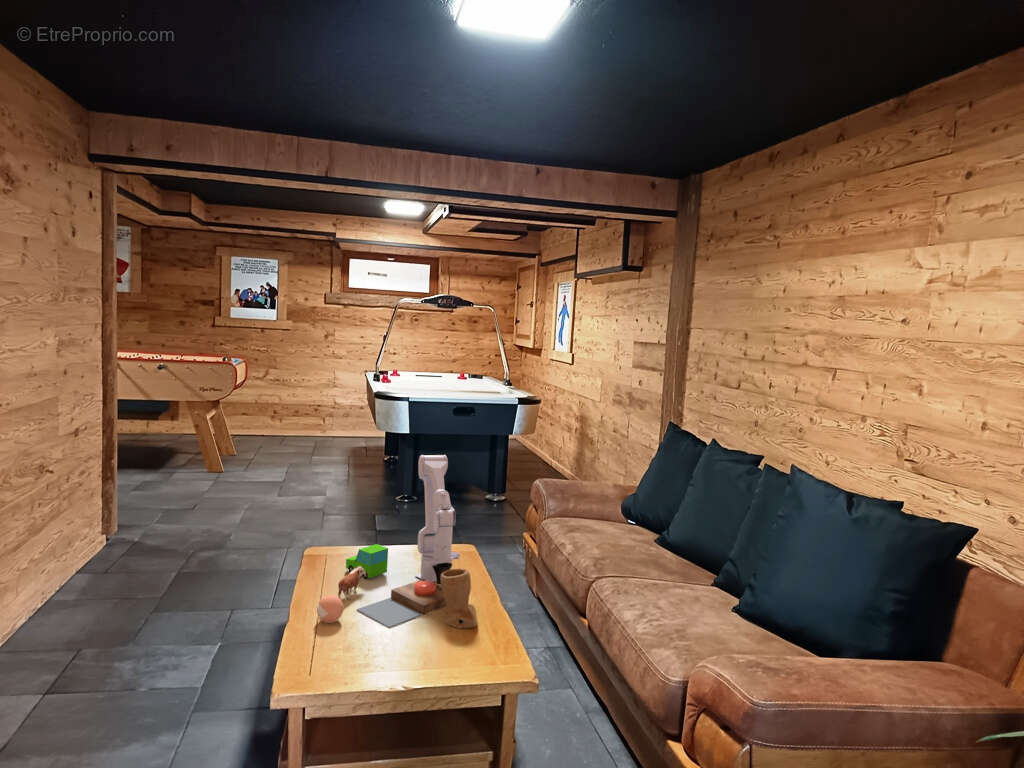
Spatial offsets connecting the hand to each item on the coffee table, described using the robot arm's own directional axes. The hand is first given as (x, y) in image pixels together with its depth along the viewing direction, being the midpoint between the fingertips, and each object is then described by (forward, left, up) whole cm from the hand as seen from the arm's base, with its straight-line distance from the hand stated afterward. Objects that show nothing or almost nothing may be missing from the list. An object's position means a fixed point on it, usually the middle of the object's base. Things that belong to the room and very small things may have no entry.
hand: (440, 583), depth 218 cm
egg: (+39, -7, -4) cm, 39 cm away
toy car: (+8, -31, -4) cm, 32 cm away
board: (+8, 0, -4) cm, 8 cm away
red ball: (+7, 0, -1) cm, 7 cm away
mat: (+22, 0, -4) cm, 22 cm away
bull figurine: (+23, -19, -4) cm, 30 cm away
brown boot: (+9, +17, -4) cm, 19 cm away
